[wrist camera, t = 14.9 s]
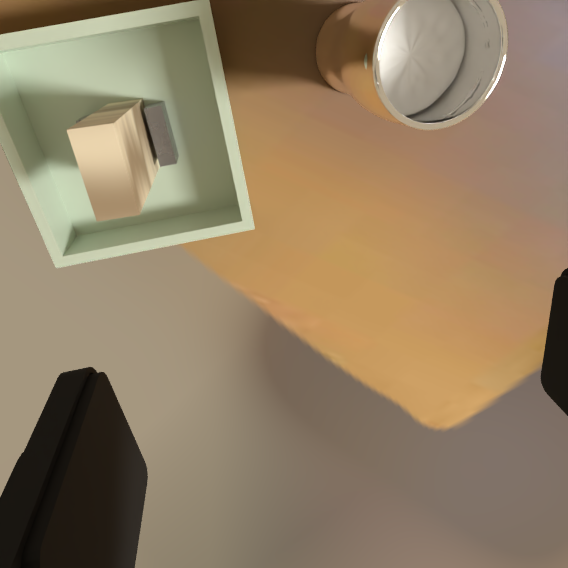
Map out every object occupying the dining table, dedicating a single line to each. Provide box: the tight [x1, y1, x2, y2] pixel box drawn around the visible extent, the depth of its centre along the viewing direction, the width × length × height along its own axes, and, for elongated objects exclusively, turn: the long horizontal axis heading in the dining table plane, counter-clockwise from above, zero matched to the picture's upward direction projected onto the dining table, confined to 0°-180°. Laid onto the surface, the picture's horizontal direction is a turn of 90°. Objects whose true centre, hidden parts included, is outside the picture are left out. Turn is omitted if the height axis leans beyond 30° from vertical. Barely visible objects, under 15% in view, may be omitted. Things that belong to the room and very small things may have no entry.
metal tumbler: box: [316, 0, 508, 130], centre depth 28 cm, size 7×7×15 cm
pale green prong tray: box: [0, 0, 255, 268], centre depth 33 cm, size 15×15×5 cm
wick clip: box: [76, 101, 179, 167], centre depth 33 cm, size 4×6×2 cm
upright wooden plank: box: [67, 98, 159, 221], centre depth 30 cm, size 5×2×11 cm, turn 7°
